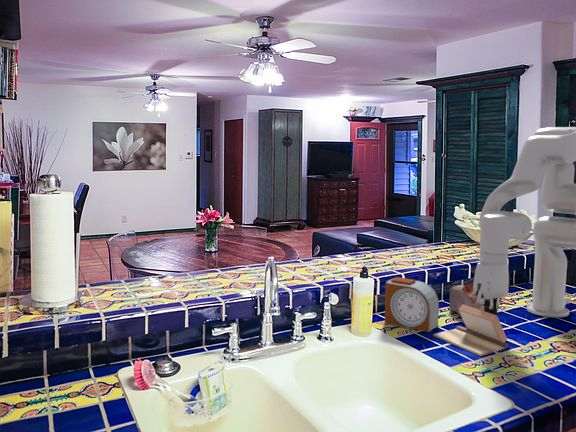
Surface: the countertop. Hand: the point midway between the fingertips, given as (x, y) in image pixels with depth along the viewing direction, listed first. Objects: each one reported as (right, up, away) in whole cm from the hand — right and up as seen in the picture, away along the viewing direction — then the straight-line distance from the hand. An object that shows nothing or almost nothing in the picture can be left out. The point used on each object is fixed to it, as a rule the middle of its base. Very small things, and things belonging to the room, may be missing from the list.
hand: (490, 320), depth 156 cm
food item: (+1, -2, +21) cm, 21 cm away
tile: (-1, -4, 0) cm, 4 cm away
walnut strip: (-3, -5, -1) cm, 6 cm away
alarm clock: (-20, -3, +12) cm, 24 cm away
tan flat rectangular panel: (-8, -5, -4) cm, 10 cm away
